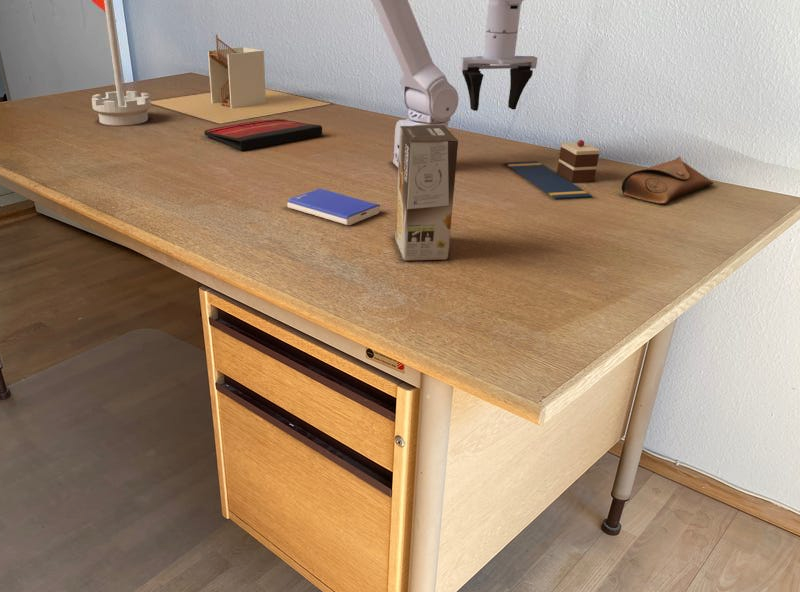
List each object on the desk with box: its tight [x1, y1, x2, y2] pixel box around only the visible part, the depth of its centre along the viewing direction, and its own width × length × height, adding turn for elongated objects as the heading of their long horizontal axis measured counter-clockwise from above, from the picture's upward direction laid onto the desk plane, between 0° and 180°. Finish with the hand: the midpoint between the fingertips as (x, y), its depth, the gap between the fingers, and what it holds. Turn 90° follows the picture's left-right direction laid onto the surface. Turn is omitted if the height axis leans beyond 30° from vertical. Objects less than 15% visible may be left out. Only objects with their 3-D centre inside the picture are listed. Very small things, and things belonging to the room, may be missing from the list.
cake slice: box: [556, 139, 601, 184], centre depth 133 cm, size 4×6×7 cm
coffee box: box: [394, 125, 459, 262], centre depth 100 cm, size 9×6×16 cm
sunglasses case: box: [620, 156, 714, 205], centre depth 128 cm, size 18×7×7 cm
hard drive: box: [287, 188, 381, 226], centre depth 117 cm, size 2×8×12 cm
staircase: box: [207, 34, 267, 109], centre depth 187 cm, size 9×11×17 cm
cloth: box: [504, 160, 592, 200], centre depth 134 cm, size 6×22×1 cm, turn 11°
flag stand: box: [91, 0, 152, 126], centre depth 165 cm, size 13×13×30 cm
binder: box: [203, 118, 323, 152], centre depth 160 cm, size 16×2×21 cm
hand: (493, 109), depth 141 cm, fingers open, 7 cm apart
